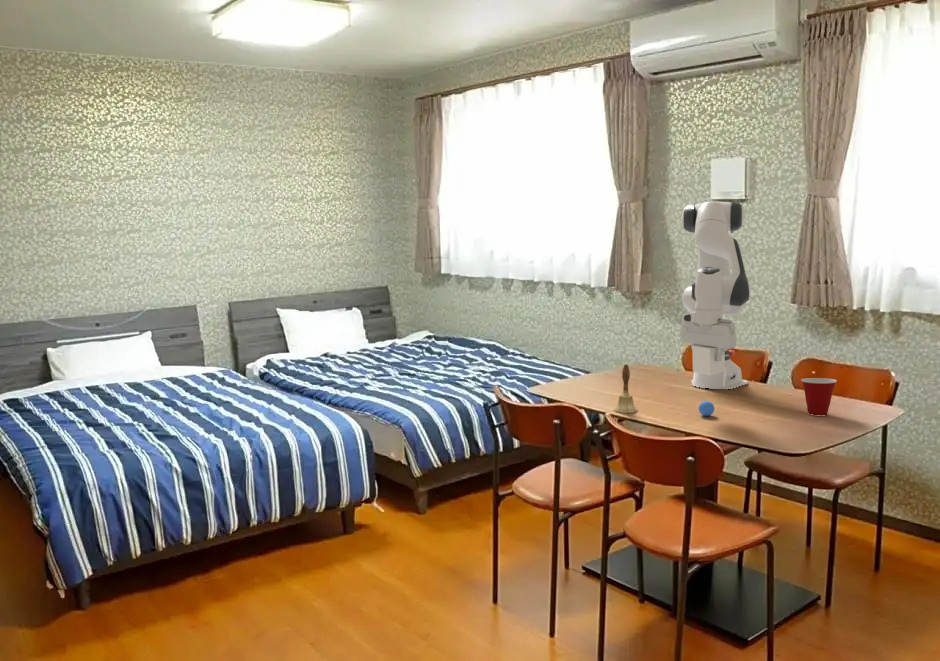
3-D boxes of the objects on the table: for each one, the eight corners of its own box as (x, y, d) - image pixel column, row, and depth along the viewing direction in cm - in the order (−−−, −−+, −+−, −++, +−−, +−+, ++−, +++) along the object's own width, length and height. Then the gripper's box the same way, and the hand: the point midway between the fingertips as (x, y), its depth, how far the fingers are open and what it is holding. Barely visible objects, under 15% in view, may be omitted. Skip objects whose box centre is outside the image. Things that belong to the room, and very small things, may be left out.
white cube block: (707, 368, 275) (706, 342, 273) (724, 371, 269) (724, 345, 267) (692, 372, 271) (692, 346, 269) (710, 375, 265) (709, 348, 263)
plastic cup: (827, 410, 276) (828, 375, 274) (840, 418, 265) (842, 381, 264) (794, 410, 276) (796, 375, 275) (806, 418, 266) (808, 382, 264)
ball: (695, 400, 272) (695, 415, 272) (707, 403, 268) (707, 418, 268) (705, 398, 274) (705, 413, 275) (717, 401, 270) (717, 416, 271)
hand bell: (608, 409, 283) (609, 363, 281) (629, 406, 287) (629, 361, 284) (622, 414, 276) (622, 367, 274) (643, 411, 279) (643, 365, 277)
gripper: (741, 319, 260) (740, 362, 262) (690, 313, 277) (689, 354, 279) (728, 321, 257) (727, 364, 259) (677, 315, 273) (677, 356, 275)
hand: (707, 359), depth 269 cm, fingers closed on white cube block, 7 cm apart
